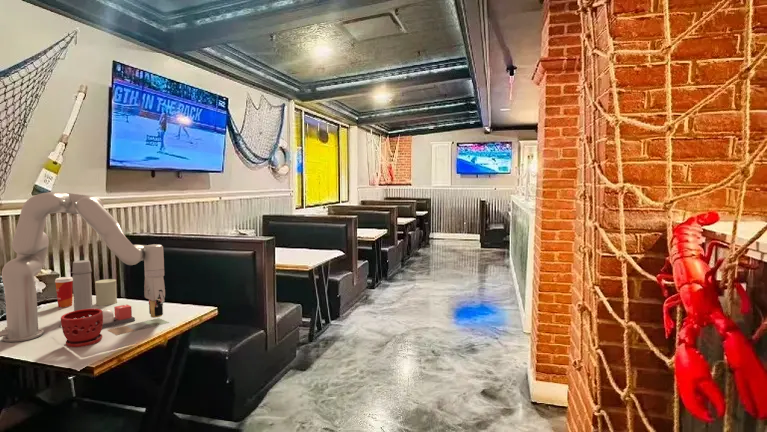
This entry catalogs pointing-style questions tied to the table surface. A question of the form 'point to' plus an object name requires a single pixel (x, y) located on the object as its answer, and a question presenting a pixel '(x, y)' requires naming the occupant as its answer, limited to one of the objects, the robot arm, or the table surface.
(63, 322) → the plant pot
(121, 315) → the popper base
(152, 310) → the tan cylinder
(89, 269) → the water bottle
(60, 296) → the paper cup
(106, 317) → the dome
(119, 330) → the game board
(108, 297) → the can
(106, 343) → the table surface
